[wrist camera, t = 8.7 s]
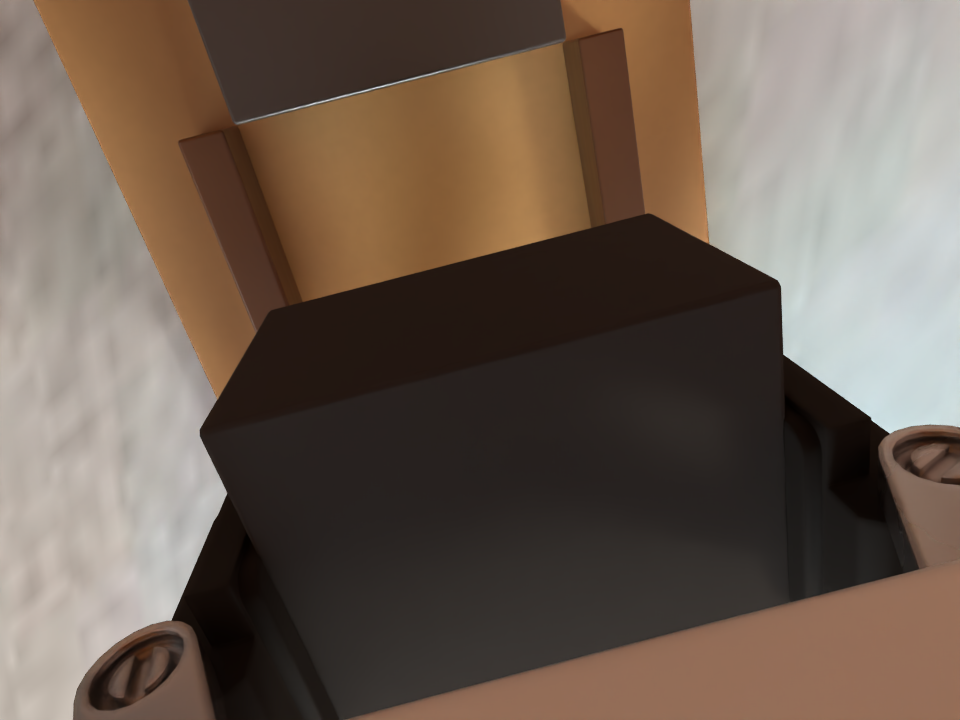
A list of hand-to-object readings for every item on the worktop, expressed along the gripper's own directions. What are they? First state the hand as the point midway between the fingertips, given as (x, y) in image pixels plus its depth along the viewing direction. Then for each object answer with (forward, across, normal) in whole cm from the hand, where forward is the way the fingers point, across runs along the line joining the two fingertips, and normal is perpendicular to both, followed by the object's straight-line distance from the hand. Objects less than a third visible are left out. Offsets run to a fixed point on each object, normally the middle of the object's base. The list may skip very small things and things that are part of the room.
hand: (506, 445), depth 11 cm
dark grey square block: (+1, 0, 0) cm, 1 cm away
